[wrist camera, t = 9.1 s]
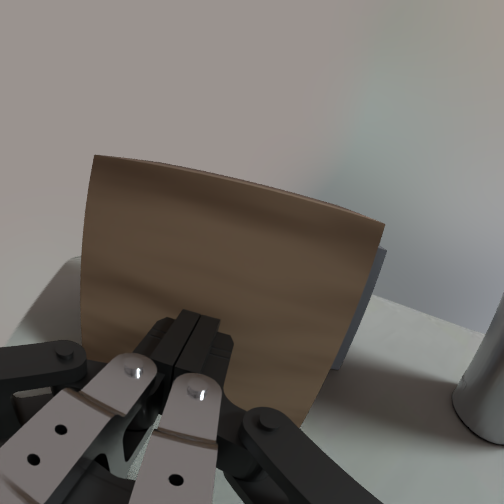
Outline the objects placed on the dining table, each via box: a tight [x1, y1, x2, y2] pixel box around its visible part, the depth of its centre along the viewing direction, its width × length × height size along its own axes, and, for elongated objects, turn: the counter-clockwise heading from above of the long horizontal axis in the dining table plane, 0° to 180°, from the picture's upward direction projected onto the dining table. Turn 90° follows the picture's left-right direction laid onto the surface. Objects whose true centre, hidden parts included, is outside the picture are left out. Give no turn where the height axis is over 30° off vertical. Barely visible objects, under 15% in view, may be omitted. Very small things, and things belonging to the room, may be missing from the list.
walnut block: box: [80, 155, 385, 428], centre depth 16 cm, size 8×12×12 cm, turn 86°
